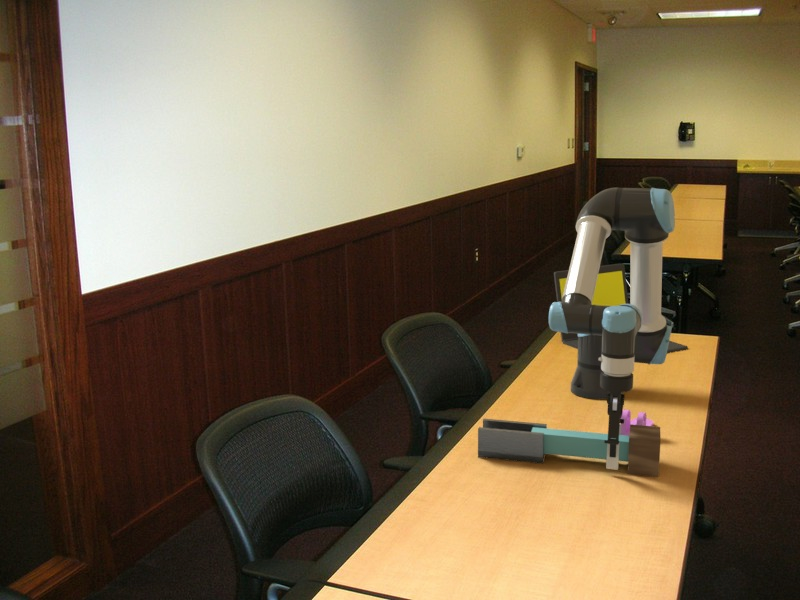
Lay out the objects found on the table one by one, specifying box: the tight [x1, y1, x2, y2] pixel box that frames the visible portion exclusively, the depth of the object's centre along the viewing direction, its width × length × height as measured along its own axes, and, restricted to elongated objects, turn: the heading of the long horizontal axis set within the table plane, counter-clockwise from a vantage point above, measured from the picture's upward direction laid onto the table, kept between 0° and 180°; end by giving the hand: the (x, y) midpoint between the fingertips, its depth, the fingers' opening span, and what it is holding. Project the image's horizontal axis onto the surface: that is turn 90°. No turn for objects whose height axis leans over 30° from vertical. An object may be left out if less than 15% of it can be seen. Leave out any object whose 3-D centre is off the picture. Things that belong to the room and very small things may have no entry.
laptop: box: [553, 263, 689, 354], centre depth 302 cm, size 33×35×26 cm
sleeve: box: [477, 418, 548, 465], centre depth 207 cm, size 7×16×8 cm, turn 73°
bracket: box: [620, 408, 654, 436], centre depth 222 cm, size 13×6×7 cm, turn 147°
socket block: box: [627, 424, 661, 478], centre depth 198 cm, size 9×7×9 cm
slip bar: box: [531, 427, 629, 463], centre depth 202 cm, size 4×26×5 cm, turn 73°
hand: (613, 458), depth 201 cm, fingers open, 11 cm apart
